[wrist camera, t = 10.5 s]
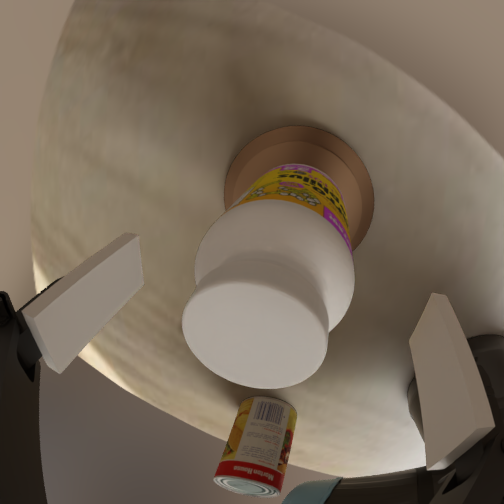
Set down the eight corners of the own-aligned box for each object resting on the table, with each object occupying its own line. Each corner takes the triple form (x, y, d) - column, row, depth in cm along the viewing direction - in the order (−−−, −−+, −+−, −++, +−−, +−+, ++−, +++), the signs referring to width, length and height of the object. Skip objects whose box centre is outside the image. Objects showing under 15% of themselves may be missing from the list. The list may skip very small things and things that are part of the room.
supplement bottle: (365, 206, 18) (406, 348, 7) (302, 269, 22) (268, 422, 11) (288, 140, 18) (221, 195, 7) (231, 212, 21) (130, 332, 10)
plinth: (384, 141, 18) (390, 144, 16) (354, 275, 23) (355, 288, 21) (232, 118, 20) (223, 119, 18) (225, 250, 25) (217, 262, 23)
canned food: (241, 419, 38) (217, 488, 28) (238, 391, 34) (208, 471, 24) (294, 428, 36) (277, 501, 26) (300, 401, 33) (282, 486, 22)
